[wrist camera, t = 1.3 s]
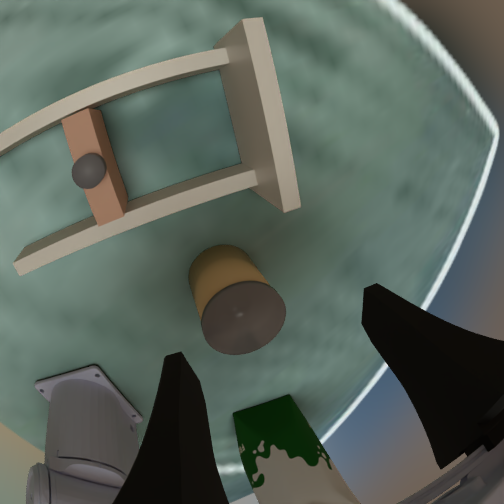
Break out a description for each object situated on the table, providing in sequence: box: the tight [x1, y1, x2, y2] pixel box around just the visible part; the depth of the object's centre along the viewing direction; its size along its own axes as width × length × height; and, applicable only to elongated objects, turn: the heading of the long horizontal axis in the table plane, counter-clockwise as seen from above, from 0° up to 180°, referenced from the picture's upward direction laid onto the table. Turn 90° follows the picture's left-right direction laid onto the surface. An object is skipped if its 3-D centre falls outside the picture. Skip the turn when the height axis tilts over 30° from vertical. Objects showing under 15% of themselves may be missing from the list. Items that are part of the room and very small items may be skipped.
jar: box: [189, 245, 286, 355], centre depth 20 cm, size 5×5×6 cm
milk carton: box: [233, 394, 361, 504], centre depth 25 cm, size 9×9×20 cm
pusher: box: [61, 108, 128, 226], centre depth 14 cm, size 6×2×5 cm, turn 13°
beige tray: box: [0, 17, 301, 276], centre depth 14 cm, size 10×18×6 cm, turn 103°
